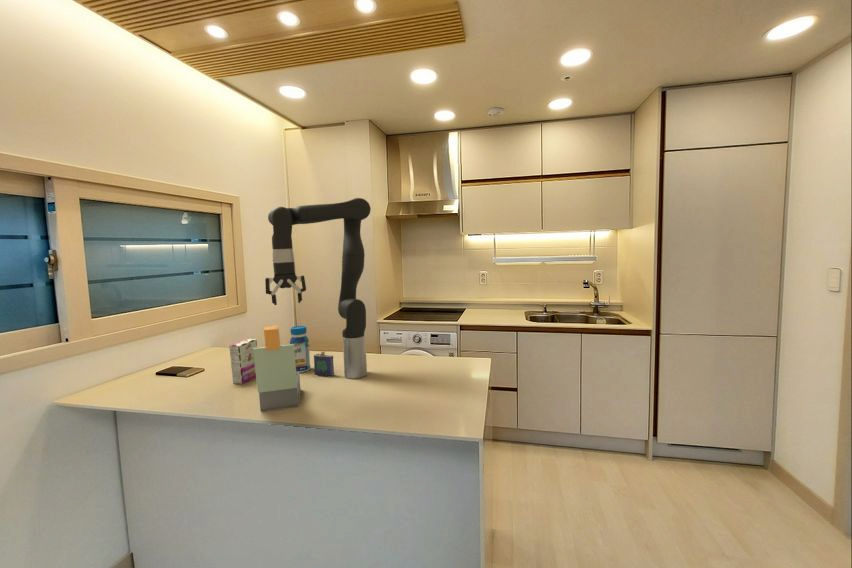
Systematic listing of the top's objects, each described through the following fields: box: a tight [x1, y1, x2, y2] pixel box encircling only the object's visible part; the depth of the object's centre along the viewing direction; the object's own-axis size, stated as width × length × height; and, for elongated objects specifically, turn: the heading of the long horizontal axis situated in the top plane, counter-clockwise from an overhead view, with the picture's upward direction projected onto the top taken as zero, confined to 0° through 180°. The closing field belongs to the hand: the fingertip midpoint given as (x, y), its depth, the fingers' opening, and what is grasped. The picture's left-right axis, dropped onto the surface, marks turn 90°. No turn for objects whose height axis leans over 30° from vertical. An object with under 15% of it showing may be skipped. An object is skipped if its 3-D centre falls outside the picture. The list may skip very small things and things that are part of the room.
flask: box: [313, 350, 335, 377], centre depth 155 cm, size 9×3×11 cm, turn 74°
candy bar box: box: [229, 338, 258, 385], centre depth 153 cm, size 11×5×16 cm, turn 168°
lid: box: [253, 325, 297, 394], centre depth 118 cm, size 12×23×4 cm
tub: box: [258, 372, 301, 412], centre depth 130 cm, size 12×16×7 cm
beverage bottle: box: [289, 325, 311, 374], centre depth 162 cm, size 8×8×20 cm
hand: (287, 303), depth 137 cm, fingers open, 8 cm apart
